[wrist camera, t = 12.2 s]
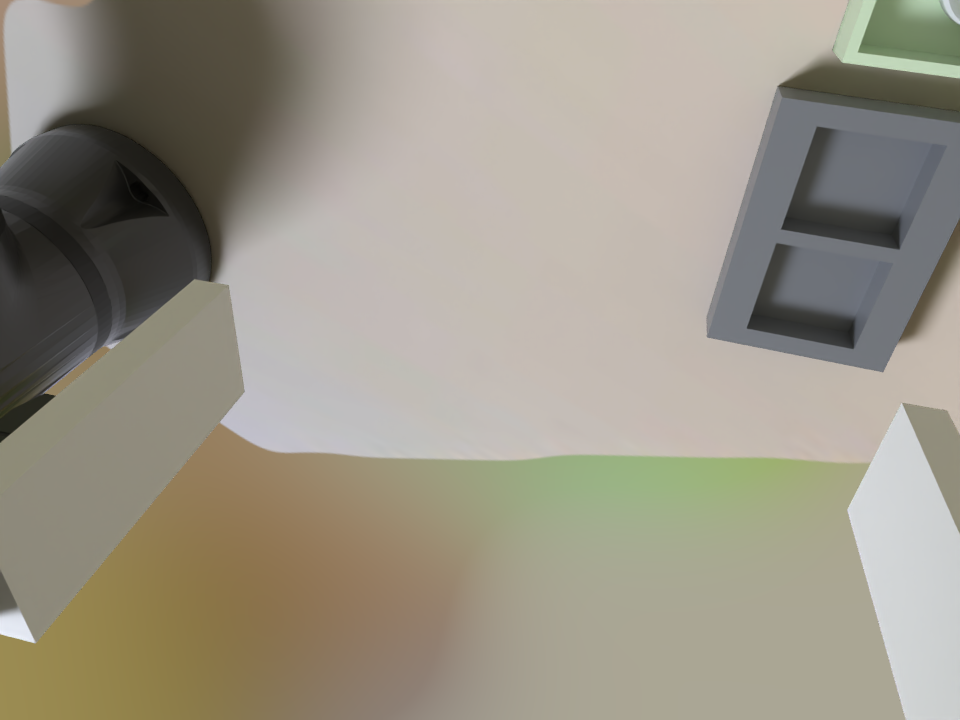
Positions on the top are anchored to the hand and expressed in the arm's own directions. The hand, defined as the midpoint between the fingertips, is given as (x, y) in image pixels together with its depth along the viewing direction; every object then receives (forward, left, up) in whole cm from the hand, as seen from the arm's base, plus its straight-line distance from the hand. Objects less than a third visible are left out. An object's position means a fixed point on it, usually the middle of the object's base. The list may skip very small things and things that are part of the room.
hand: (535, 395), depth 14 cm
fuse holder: (+12, -7, -30) cm, 33 cm away
